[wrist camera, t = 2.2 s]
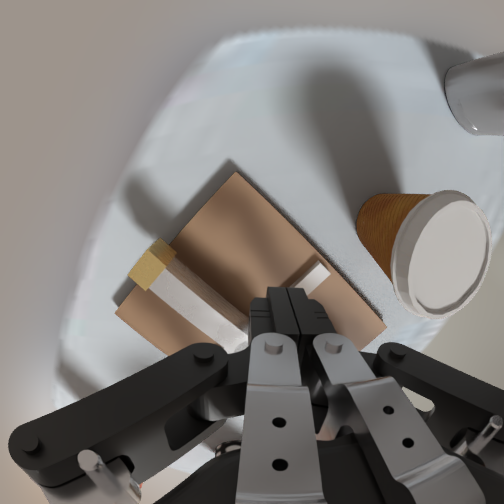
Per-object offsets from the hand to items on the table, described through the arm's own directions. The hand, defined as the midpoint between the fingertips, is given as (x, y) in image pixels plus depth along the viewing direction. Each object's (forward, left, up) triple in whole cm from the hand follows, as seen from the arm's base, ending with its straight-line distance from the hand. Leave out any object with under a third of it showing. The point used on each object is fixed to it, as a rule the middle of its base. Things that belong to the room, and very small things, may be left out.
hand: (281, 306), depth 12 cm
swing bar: (+8, +1, -13) cm, 15 cm away
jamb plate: (+8, +7, -15) cm, 18 cm away
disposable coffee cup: (-9, +9, -15) cm, 20 cm away
